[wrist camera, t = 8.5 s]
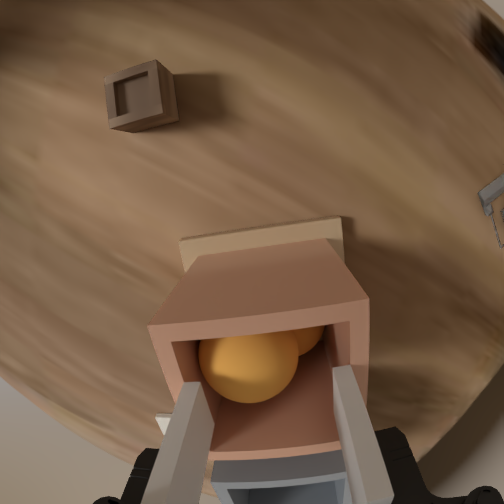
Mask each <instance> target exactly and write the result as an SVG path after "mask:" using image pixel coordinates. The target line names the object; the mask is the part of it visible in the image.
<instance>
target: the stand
mask: <svg viewBox="0 0 504 504" xmlns="http://www.w3.org/2000/svg"><path fill="white" fill-rule="evenodd" d="M104 80H105V91H106V102H107V111H108V120H109V128H110V129H114V130H120V131H125V132H130V133H134V132H138V131H141V130H145V129H149V128H152V127H156V126H160V125H164V124H168V123H172V122H176V121H179V115H178V108H177V101H176V94H175V87H174V80H173V74H172V73H171V72H170V71H169V70H167V69H166V68H165V67H164V66H163V65H162V64H161V63H159V62H158V61H157V60H153V61H150V62H146V63H143V64H140V65H137V66H134V67H131V68H128V69H125V70H122V71H119V72H117V73H114V74H111V75H109V76H106V77H104Z"/></svg>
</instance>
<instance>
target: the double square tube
mask: <svg viewBox="0 0 504 504" xmlns="http://www.w3.org/2000/svg"><path fill="white" fill-rule="evenodd" d="M178 243H179V248H180V252H181V257H182V261H183V266H184V270H185V274H184V276H183V277H182V278H181V280H180V281H179V282H178V284H177V285H176V287H175V288H174V289H173V291H172V292H171V293H170V295H169V296H168V297H167V299H166V300H165V302H164V303H163V304H162V306H161V307H160V308H159V310H158V311H157V313H156V314H155V315H154V317H153V318H152V320H151V321H150V322H149V324H148V325H147V326H148V329H149V333H150V336H151V339H152V342H153V345H154V348H155V351H156V354H157V356H158V359H159V362H160V365H161V368H162V371H163V373H164V376H165V379H166V381H167V384H168V387H169V389H170V392H171V394H172V397H173V400H174V402H175V405H176V402H177V399H178V397H179V394H180V391H181V388H182V386H183V383H184V382H201V385H202V388H203V391H204V394H205V397H206V400H207V403H208V406H209V409H210V412H211V415H212V418H213V421H214V424H215V425H214V430H213V435H212V440H211V444H210V449H209V454H208V459H207V460H214V466H213V471H212V477H211V484H212V486H213V488H214V490H215V492H216V494H217V496H218V498H219V500H220V502H221V503H222V504H353V503H352V498H351V493H350V488H349V483H348V478H347V473H346V468H345V463H344V458H343V453H342V449H341V444H340V439H339V435H338V430H337V426H336V421H335V417H334V410H333V367H339V366H345V365H351V368H352V370H353V373H354V376H355V379H356V381H357V384H358V387H359V390H360V392H361V395H362V398H363V401H364V404H365V407H366V405H367V391H368V371H369V336H370V306H369V297H368V296H367V294H366V293H365V292H364V290H363V289H362V287H361V286H360V285H359V283H358V282H357V280H356V279H355V278H354V276H353V275H352V273H351V272H350V271H349V269H348V268H347V267H346V265H345V259H344V246H343V235H342V225H341V218H340V217H339V216H330V217H323V218H315V219H308V220H300V221H293V222H286V223H279V224H272V225H265V226H258V227H251V228H245V229H238V230H231V231H225V232H218V233H211V234H205V235H199V236H192V237H186V238H182V239H180V240H179V241H178ZM321 325H325V327H324V331H323V334H322V336H321V338H320V339H319V341H318V342H317V344H316V345H315V346H314V347H313V348H312V349H311V350H309V351H308V352H306V353H305V354H303V355H300V356H299V357H298V365H297V368H296V372H295V374H294V376H293V378H292V379H291V381H290V383H289V384H288V385H287V386H286V387H285V388H284V389H283V390H282V391H281V392H280V393H279V394H277V395H275V396H274V397H272V398H270V399H267V400H265V401H261V402H257V403H241V402H236V401H232V400H230V399H227V398H225V397H223V396H222V395H220V394H219V393H217V392H216V391H215V390H214V389H213V388H212V387H211V386H210V385H209V384H208V382H207V381H206V379H205V377H204V376H203V374H202V371H201V368H200V364H199V358H198V352H199V344H200V341H201V339H213V338H224V337H234V336H244V335H253V334H262V333H270V332H278V331H286V330H293V329H301V328H308V327H315V326H321Z"/></svg>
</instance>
